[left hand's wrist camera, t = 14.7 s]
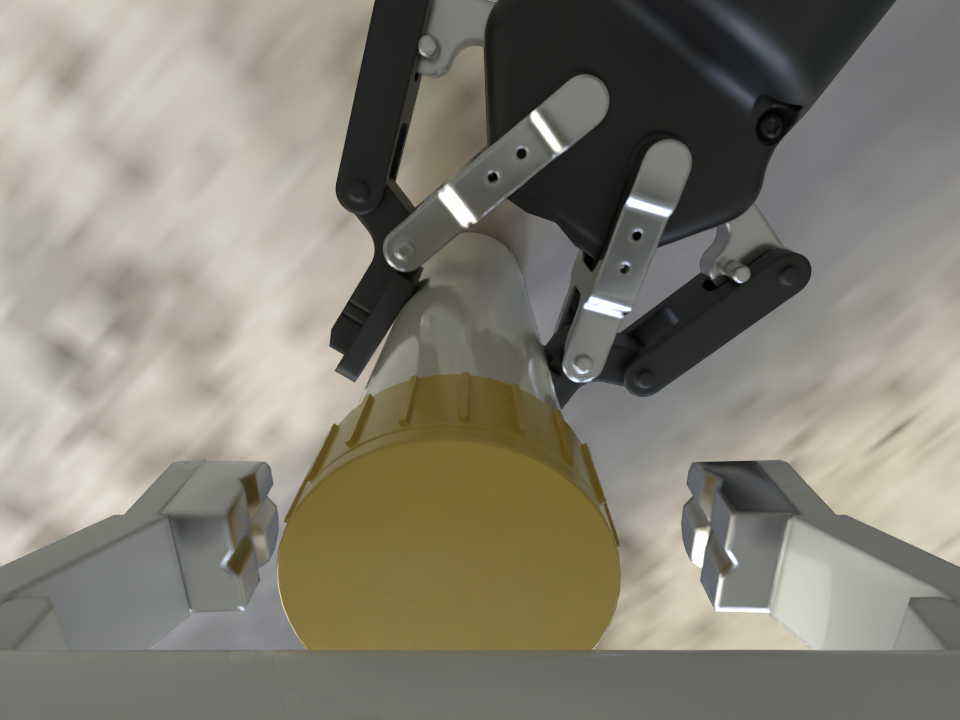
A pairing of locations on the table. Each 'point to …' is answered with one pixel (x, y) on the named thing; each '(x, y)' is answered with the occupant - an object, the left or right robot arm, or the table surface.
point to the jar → (467, 323)
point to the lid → (450, 526)
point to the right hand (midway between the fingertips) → (420, 406)
